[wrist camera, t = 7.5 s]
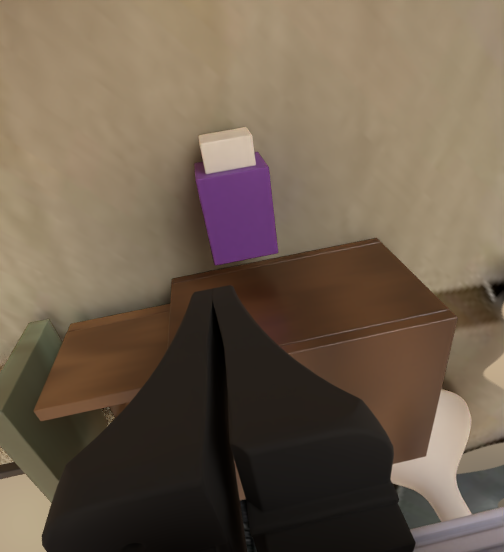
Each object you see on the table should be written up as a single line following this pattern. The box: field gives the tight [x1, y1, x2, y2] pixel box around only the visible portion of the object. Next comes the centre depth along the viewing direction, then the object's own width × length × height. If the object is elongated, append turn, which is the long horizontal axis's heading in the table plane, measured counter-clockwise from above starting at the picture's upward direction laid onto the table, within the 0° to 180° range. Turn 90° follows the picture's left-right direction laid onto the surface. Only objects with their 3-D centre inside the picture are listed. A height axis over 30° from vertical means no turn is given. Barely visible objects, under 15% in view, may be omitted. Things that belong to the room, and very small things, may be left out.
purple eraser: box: [194, 127, 278, 265], centre depth 18 cm, size 6×3×3 cm, turn 8°
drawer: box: [0, 304, 170, 503], centre depth 21 cm, size 19×10×7 cm, turn 98°
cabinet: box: [167, 238, 458, 500], centre depth 22 cm, size 13×11×8 cm
